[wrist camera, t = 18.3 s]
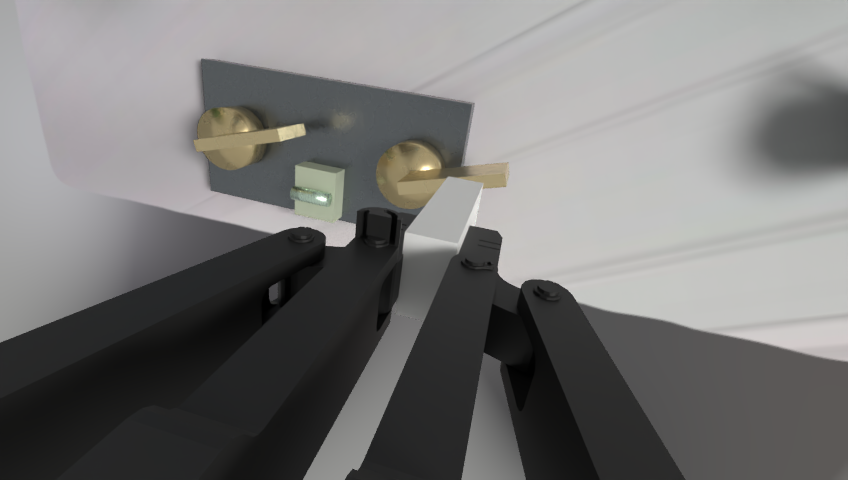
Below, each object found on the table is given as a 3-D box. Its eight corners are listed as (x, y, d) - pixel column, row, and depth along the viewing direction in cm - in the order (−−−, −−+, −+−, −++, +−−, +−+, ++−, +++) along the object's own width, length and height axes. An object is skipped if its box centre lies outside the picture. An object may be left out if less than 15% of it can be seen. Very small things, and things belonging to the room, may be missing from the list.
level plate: (221, 186, 56) (187, 198, 50) (213, 59, 49) (174, 57, 44) (450, 238, 50) (440, 258, 45) (474, 103, 44) (466, 107, 39)
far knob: (225, 167, 52) (175, 182, 44) (207, 110, 49) (152, 115, 42) (324, 156, 48) (288, 171, 41) (311, 93, 46) (269, 97, 38)
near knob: (390, 203, 48) (365, 226, 41) (380, 143, 46) (351, 155, 38) (512, 194, 44) (508, 218, 37) (508, 128, 42) (502, 139, 35)
